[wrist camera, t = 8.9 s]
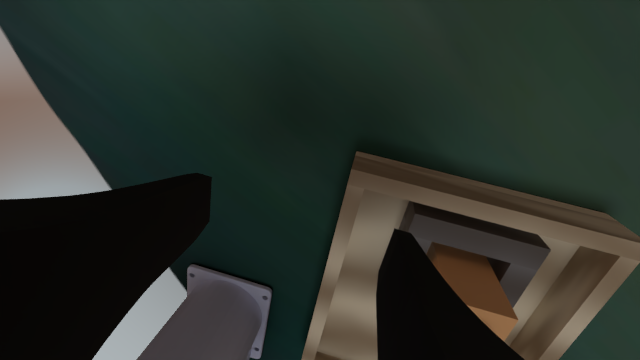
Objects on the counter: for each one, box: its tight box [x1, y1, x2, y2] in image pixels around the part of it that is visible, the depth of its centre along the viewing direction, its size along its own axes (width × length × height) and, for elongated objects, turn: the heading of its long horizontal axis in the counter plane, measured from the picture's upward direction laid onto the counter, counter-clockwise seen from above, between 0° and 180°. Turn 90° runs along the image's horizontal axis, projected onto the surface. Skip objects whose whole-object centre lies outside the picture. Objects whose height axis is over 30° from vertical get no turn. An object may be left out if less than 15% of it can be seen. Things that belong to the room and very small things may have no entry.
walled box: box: [302, 151, 640, 360], centre depth 22 cm, size 20×16×4 cm
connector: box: [426, 242, 518, 341], centre depth 17 cm, size 3×3×7 cm
